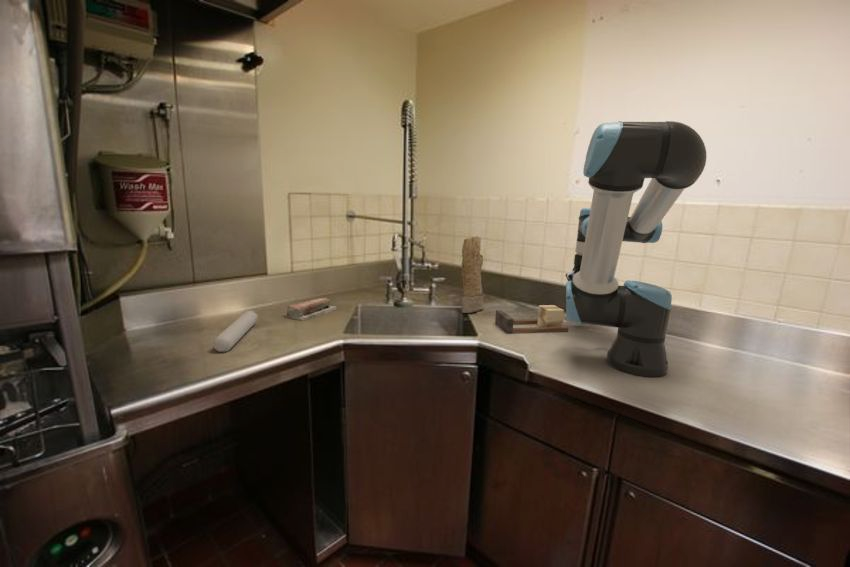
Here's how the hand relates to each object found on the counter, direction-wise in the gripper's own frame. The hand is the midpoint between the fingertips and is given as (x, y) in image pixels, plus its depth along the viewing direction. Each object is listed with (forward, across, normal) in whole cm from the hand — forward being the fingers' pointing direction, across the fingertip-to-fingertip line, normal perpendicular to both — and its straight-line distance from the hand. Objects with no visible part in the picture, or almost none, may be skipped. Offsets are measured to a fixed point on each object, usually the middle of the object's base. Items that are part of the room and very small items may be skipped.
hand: (578, 320), depth 141 cm
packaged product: (+4, +94, -26) cm, 97 cm away
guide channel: (+3, +18, 0) cm, 18 cm away
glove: (+4, +31, -27) cm, 41 cm away
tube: (+4, +113, -1) cm, 113 cm away
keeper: (+2, +11, 0) cm, 11 cm away
